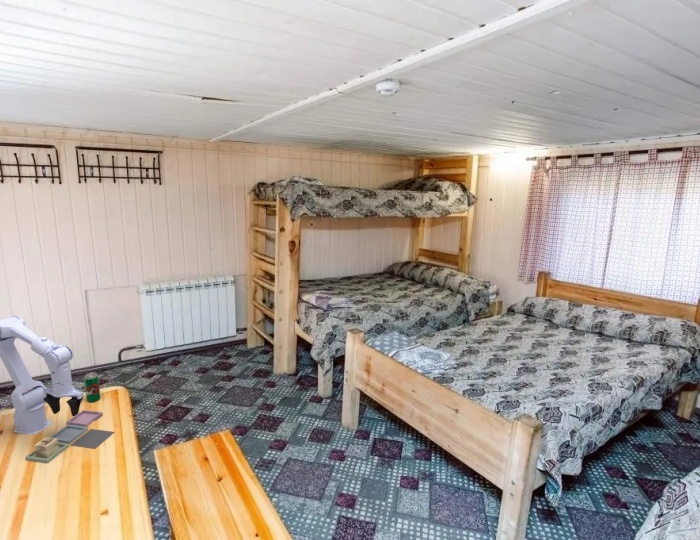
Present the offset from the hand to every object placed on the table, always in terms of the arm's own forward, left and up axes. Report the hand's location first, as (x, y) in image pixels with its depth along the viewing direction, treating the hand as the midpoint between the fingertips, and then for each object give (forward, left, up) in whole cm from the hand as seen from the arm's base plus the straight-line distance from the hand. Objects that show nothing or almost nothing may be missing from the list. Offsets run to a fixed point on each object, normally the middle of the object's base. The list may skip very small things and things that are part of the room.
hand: (66, 413), depth 146 cm
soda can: (-10, +24, -10) cm, 28 cm away
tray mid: (0, 0, -9) cm, 9 cm away
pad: (+10, 0, -9) cm, 14 cm away
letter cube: (+1, -10, -9) cm, 13 cm away
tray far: (-2, +10, -9) cm, 14 cm away
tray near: (+1, -10, -9) cm, 14 cm away
